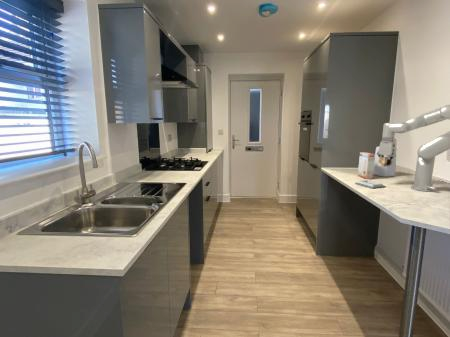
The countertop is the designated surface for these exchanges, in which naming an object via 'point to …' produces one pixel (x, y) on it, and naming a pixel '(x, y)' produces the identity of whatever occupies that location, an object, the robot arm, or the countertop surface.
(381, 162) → the oak block
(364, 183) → the locator board
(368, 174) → the cracker box
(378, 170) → the plastic bottle
